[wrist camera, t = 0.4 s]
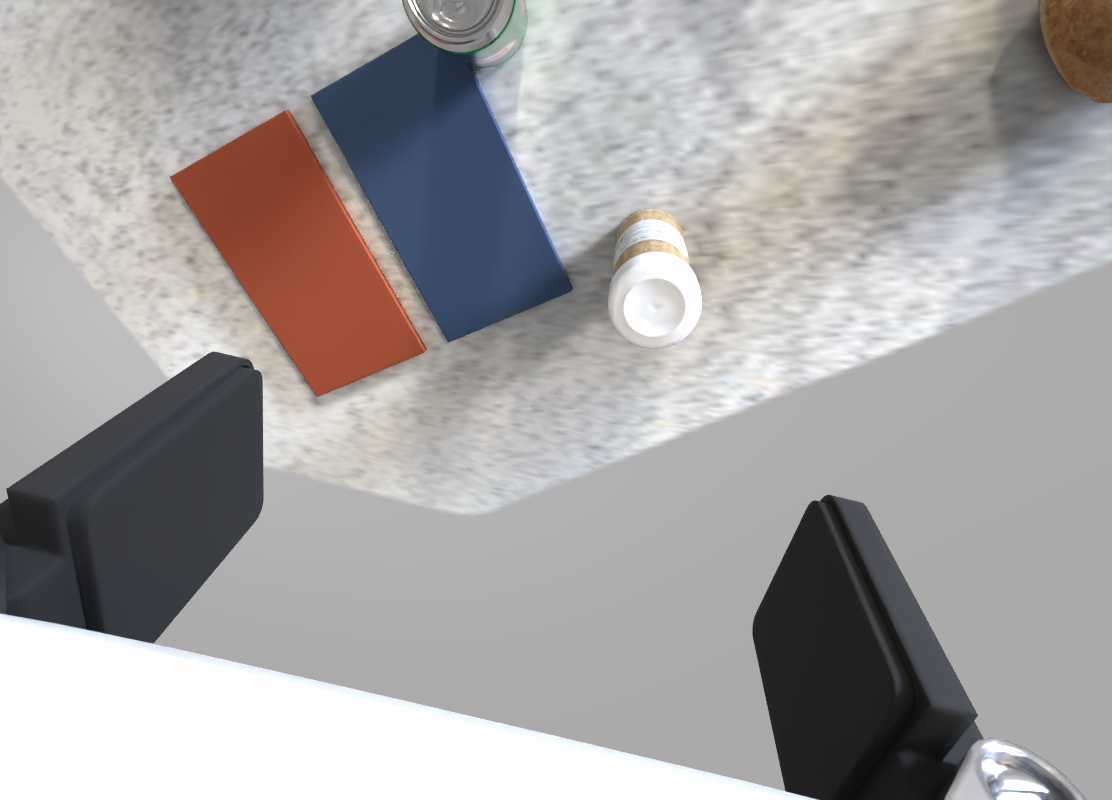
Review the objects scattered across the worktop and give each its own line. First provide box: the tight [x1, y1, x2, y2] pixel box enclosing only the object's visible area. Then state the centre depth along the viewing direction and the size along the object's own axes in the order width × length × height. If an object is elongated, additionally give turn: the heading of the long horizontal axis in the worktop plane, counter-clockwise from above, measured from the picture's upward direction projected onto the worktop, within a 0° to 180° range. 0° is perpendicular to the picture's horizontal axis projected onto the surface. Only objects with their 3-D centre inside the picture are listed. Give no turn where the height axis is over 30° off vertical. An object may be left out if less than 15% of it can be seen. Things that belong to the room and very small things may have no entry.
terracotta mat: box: [170, 110, 426, 397], centre depth 46 cm, size 18×10×1 cm, turn 25°
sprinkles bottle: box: [608, 209, 702, 349], centre depth 37 cm, size 5×5×13 cm
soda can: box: [402, 0, 527, 67], centre depth 33 cm, size 5×5×12 cm
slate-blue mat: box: [311, 34, 573, 342], centre depth 43 cm, size 18×10×1 cm, turn 25°
